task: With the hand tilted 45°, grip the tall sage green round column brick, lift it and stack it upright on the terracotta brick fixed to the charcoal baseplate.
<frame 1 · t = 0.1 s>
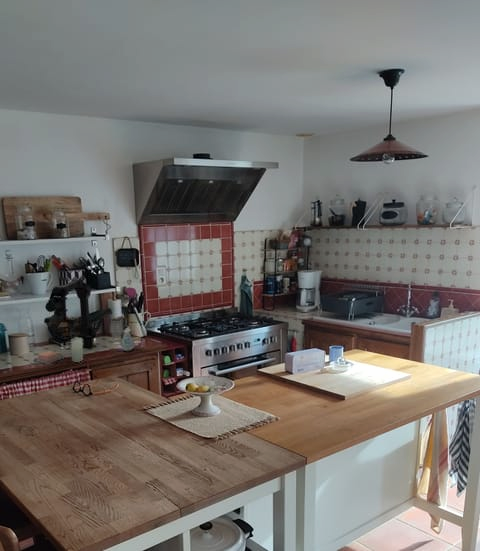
hand: (62, 335, 282), 15 cm above the counter, tool pointing down, fingers open, 9 cm apart
coffee box: (120, 342, 321), on the counter
tower base: (49, 360, 284), on the counter
toy figure: (127, 351, 302), on the counter
column brick: (77, 361, 282), on the counter
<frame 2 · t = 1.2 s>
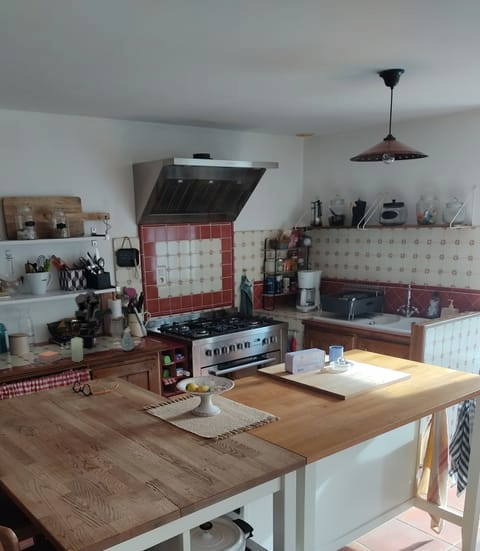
hand: (79, 334, 288), 13 cm above the counter, tool tilted 45°, fingers open, 9 cm apart
nothing on the counter moved.
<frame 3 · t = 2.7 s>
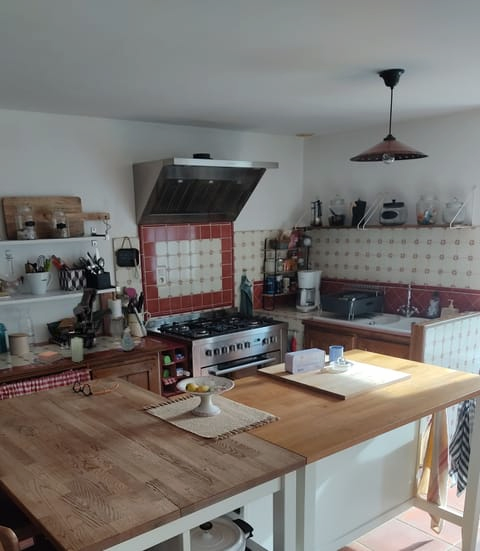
hand: (77, 346, 281), 8 cm above the counter, tool tilted 45°, fingers open, 9 cm apart
nothing on the counter moved.
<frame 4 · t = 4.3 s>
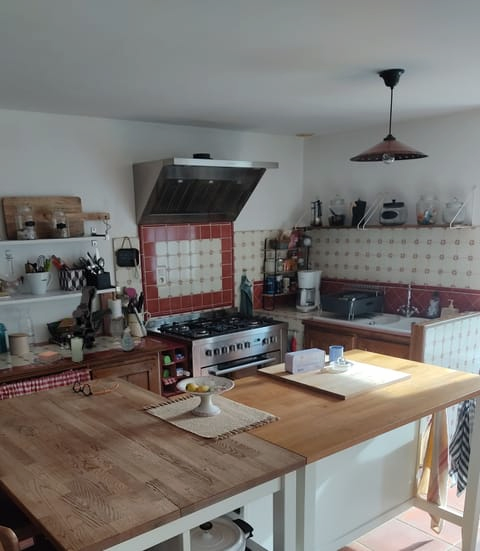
hand: (76, 350, 280), 7 cm above the counter, tool tilted 45°, fingers closed on column brick, 6 cm apart
column brick: (77, 361, 282), on the counter, touching gripper
everything else where it was.
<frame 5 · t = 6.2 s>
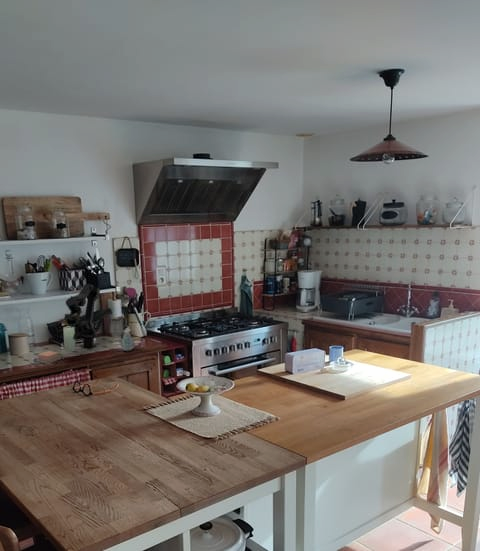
hand: (68, 338, 278), 14 cm above the counter, tool tilted 45°, fingers closed on column brick, 6 cm apart
column brick: (70, 349, 281), point 7 cm above the counter, touching gripper
everything else where it was.
when the fingers open (12 cm above the counter, at t = 8.5 s): column brick drops 1 cm, resting on tower base.
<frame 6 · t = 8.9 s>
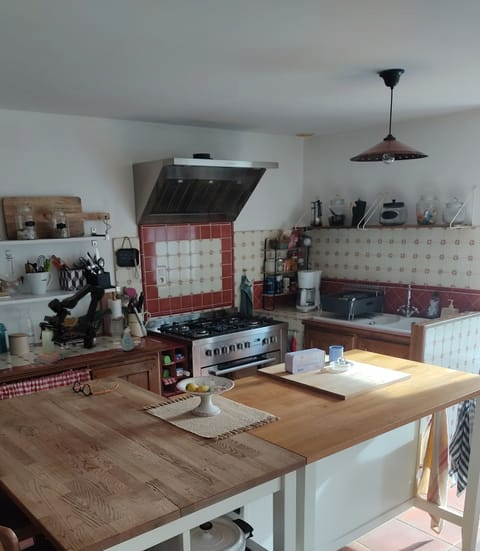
hand: (45, 340, 281), 12 cm above the counter, tool tilted 45°, fingers open, 9 cm apart
column brick: (48, 353, 283), point 4 cm above the counter, touching tower base
everything else where it was.
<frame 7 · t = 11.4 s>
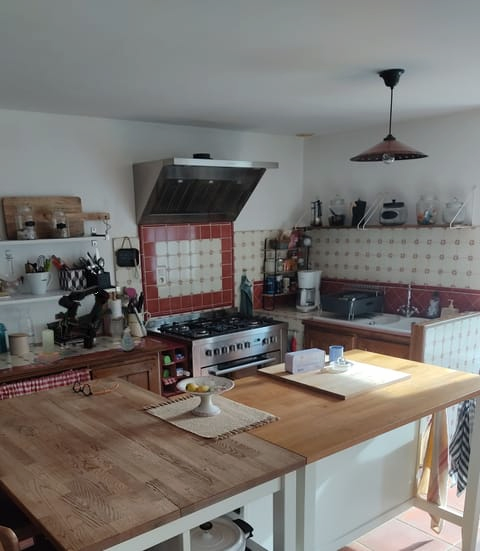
hand: (64, 336, 290), 12 cm above the counter, tool tilted 30°, fingers open, 9 cm apart
nothing on the counter moved.
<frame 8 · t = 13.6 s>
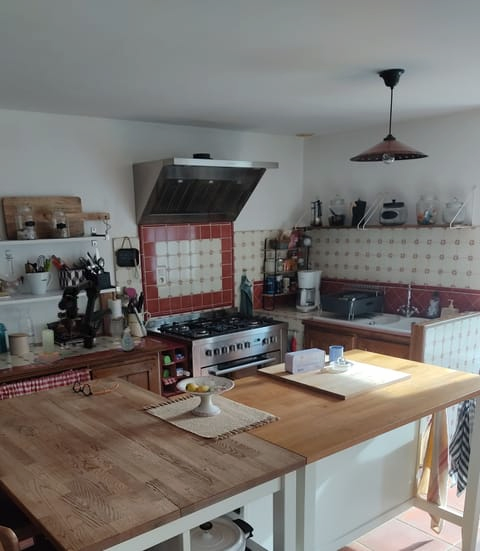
hand: (73, 332, 294), 13 cm above the counter, tool pointing down, fingers open, 9 cm apart
nothing on the counter moved.
at the end: column brick 0.0 cm off-centre on the tower base, point 4.0 cm above the tower base's base; column brick tilted 1°; the gripper is holding nothing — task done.
